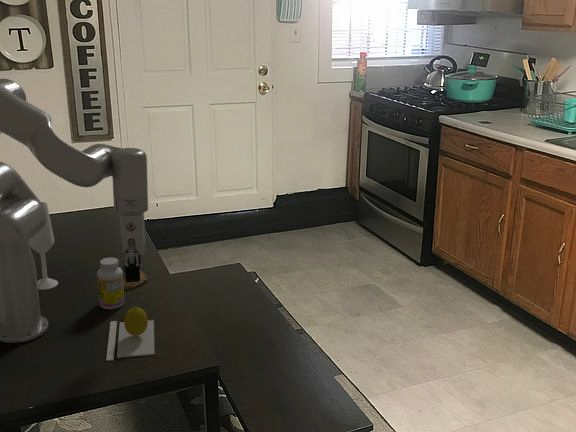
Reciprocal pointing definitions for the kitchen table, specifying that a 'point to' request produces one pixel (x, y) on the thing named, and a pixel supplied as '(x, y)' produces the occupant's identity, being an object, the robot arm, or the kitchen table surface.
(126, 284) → the bread roll
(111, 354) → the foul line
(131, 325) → the lemon
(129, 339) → the mat
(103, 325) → the kitchen table surface
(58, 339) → the kitchen table surface
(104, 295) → the supplement bottle
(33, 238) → the champagne flute
